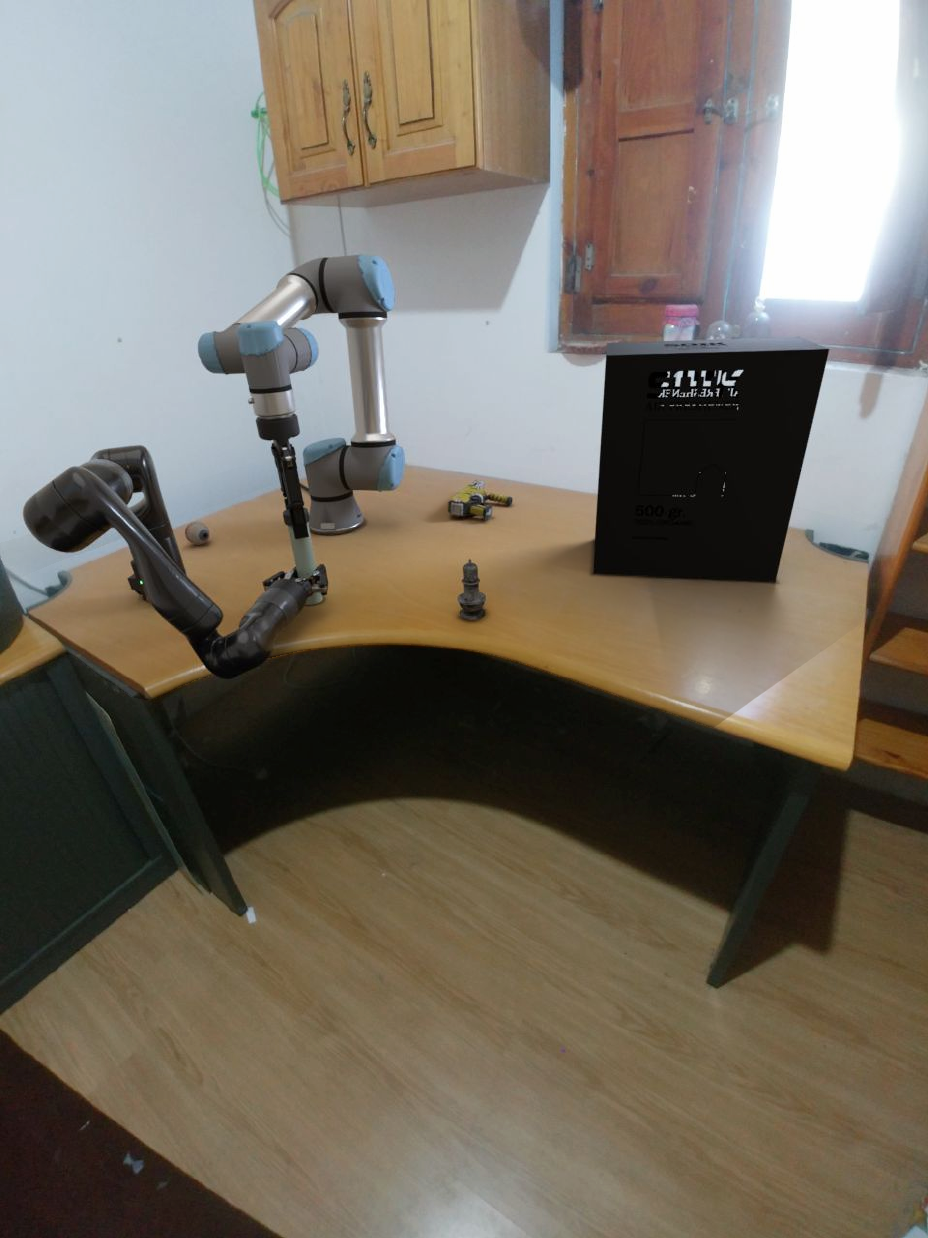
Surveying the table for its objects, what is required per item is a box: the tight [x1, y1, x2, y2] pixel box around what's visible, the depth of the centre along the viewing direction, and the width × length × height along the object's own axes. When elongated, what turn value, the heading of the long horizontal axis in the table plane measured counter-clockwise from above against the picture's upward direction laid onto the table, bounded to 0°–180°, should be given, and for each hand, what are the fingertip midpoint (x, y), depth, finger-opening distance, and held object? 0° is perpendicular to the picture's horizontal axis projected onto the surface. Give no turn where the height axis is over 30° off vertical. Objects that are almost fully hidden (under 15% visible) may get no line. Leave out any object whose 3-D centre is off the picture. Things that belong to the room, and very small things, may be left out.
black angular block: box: [592, 336, 830, 583], centre depth 128 cm, size 38×20×45 cm, turn 78°
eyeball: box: [184, 521, 211, 546], centre depth 161 cm, size 6×6×6 cm
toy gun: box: [447, 479, 514, 521], centre depth 175 cm, size 5×24×15 cm
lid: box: [282, 506, 310, 527], centre depth 121 cm, size 5×5×2 cm
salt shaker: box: [456, 558, 487, 621], centre depth 119 cm, size 6×6×12 cm
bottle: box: [287, 522, 324, 606], centre depth 126 cm, size 4×4×19 cm
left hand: (312, 567), depth 130 cm, fingers closed on bottle, 4 cm apart
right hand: (299, 532), depth 123 cm, fingers open, 5 cm apart
